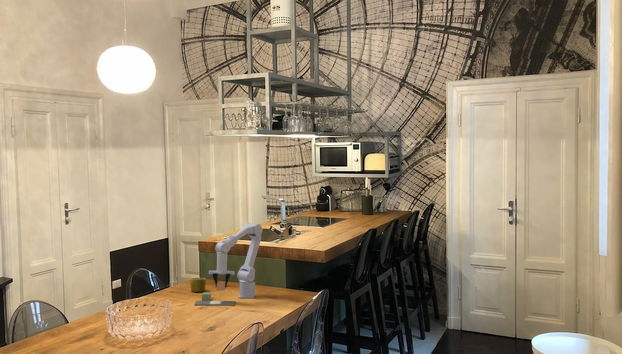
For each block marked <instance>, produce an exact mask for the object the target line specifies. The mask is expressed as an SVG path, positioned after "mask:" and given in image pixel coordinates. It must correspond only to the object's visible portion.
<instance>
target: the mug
mask: <svg viewBox="0 0 622 354" xmlns="http://www.w3.org/2000/svg"><path fill="white" fill-rule="evenodd" d="M206 283H207V279H206V277H195V278H194V277H193V278H190V291H191V292H192V293H203V292H205V291H206Z"/></svg>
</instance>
